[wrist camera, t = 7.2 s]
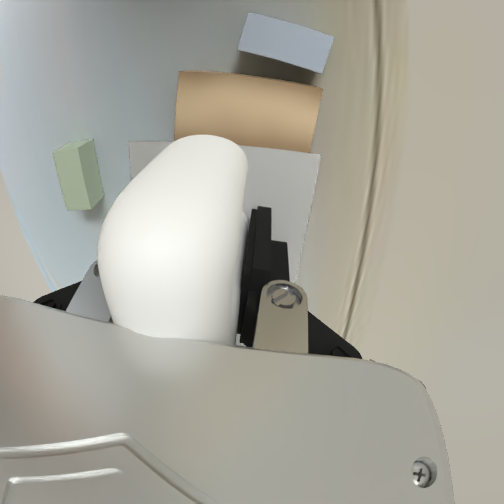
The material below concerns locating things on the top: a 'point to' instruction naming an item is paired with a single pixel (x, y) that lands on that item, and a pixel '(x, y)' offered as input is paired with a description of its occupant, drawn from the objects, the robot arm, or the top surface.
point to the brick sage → (79, 174)
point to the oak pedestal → (247, 109)
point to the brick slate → (285, 42)
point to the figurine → (197, 232)
